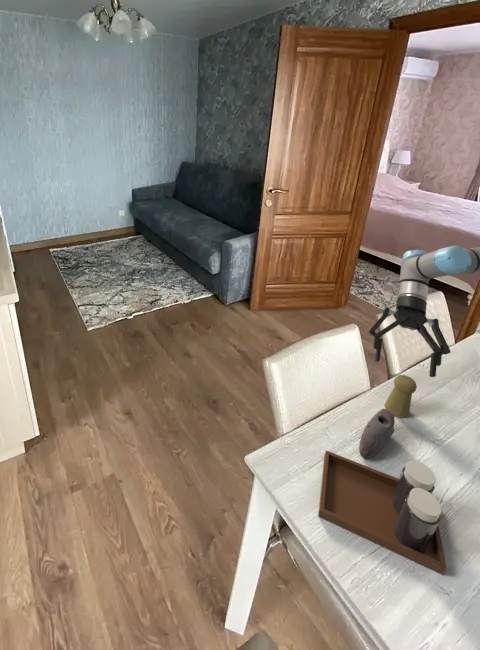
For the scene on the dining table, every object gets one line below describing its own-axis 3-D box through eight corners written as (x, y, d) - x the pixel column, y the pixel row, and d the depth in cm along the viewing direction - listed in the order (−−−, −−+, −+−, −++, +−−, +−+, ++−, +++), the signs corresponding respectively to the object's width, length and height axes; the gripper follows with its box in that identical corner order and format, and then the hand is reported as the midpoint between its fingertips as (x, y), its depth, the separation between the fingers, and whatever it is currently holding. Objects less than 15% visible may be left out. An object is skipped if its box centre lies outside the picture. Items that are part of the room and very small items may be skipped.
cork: (385, 397, 102) (395, 368, 98) (409, 407, 99) (420, 377, 95) (383, 411, 98) (393, 381, 93) (408, 421, 94) (419, 391, 90)
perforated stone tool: (369, 469, 82) (376, 449, 79) (347, 453, 86) (353, 433, 83) (395, 435, 90) (402, 415, 88) (375, 421, 94) (380, 402, 92)
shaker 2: (424, 529, 70) (440, 494, 66) (428, 559, 65) (446, 524, 61) (392, 515, 72) (406, 481, 68) (394, 543, 67) (409, 508, 63)
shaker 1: (420, 500, 75) (434, 466, 71) (423, 526, 70) (440, 491, 66) (390, 488, 77) (403, 454, 73) (392, 512, 73) (406, 478, 68)
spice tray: (428, 499, 76) (432, 492, 75) (442, 577, 63) (446, 569, 62) (324, 457, 85) (325, 450, 84) (317, 518, 72) (319, 510, 71)
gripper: (457, 312, 103) (452, 384, 97) (364, 293, 114) (354, 356, 107) (467, 306, 97) (462, 382, 90) (368, 285, 107) (357, 353, 101)
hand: (403, 368), depth 99 cm, fingers open, 13 cm apart
